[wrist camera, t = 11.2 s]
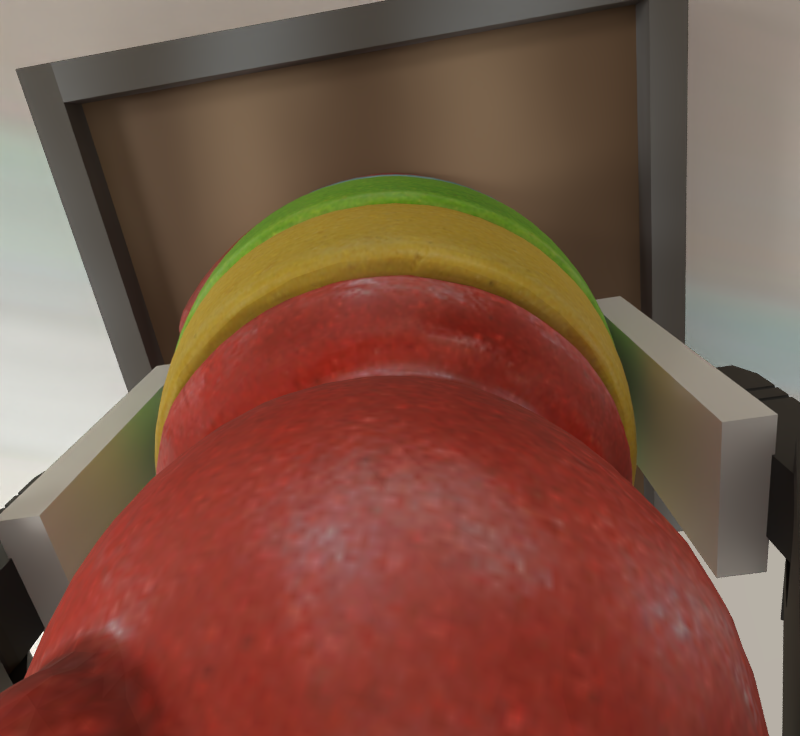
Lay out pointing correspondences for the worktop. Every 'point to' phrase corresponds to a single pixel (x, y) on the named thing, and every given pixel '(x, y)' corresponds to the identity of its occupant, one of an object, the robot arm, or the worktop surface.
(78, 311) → the worktop surface
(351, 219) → the stacking bear
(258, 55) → the square tray
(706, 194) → the worktop surface
